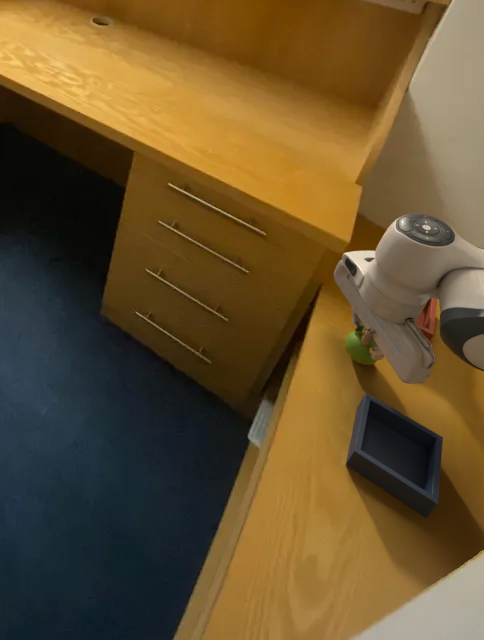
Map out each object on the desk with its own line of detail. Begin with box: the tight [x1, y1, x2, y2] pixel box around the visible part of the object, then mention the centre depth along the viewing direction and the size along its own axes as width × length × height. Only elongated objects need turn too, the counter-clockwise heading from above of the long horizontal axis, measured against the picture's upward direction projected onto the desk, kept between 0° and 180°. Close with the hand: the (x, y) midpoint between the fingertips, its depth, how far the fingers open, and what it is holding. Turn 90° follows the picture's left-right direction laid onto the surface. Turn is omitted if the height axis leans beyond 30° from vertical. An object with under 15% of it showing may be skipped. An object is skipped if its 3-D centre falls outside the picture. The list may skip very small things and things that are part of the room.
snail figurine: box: [344, 327, 378, 366], centre depth 91 cm, size 5×6×12 cm
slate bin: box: [345, 392, 444, 519], centre depth 79 cm, size 11×11×5 cm
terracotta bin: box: [414, 298, 438, 342], centre depth 101 cm, size 11×11×5 cm
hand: (365, 341), depth 92 cm, fingers open, 4 cm apart
